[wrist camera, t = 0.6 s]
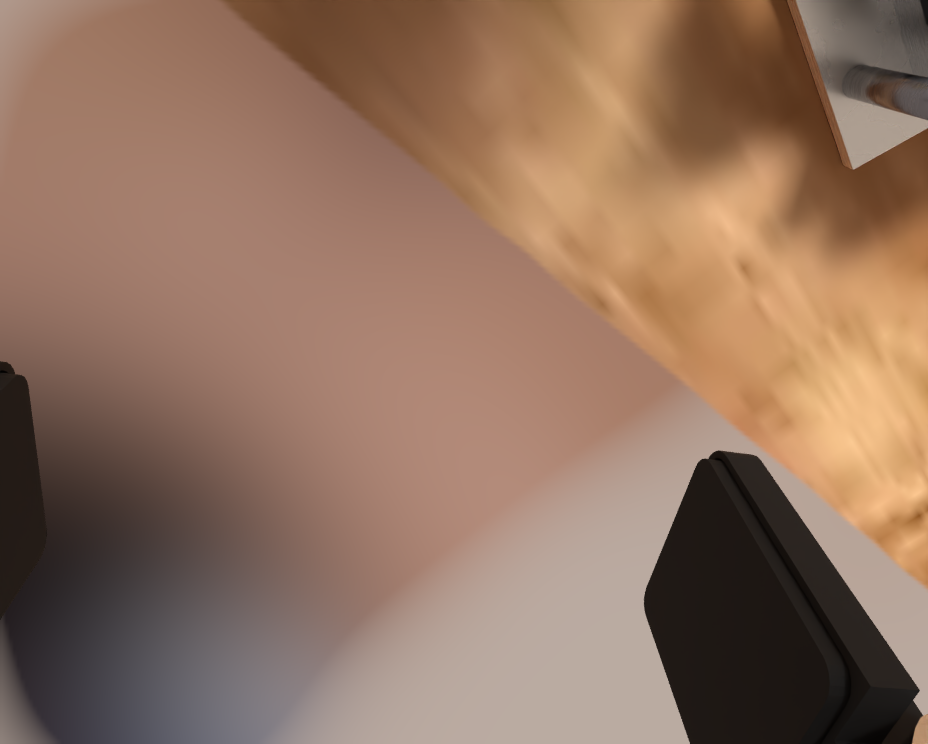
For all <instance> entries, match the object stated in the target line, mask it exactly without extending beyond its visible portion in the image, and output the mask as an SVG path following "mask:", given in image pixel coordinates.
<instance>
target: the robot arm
mask: <svg viewBox="0 0 928 744" xmlns="http://www.w3.org/2000/svg"><path fill="white" fill-rule="evenodd" d="M46 537H47V528H46V521H45V513H44V505H43V498H42V490H41V482H40V475H39V466H38V458H37V450H36V443H35V435H34V427H33V419H32V412H31V404H30V396H29V389H28V384H27V380H26V379H25V377H24V376H22V375H16V374H15V372H14V369H13V368H12V366H11V365H10V364H8V363H7V362H1V361H0V619H1V618H2V616H3V615H4V613H5V612H6V610H7V608H8V607H9V605H10V604H11V602H12V601H13V599H14V598H15V596H16V595H17V593H18V592H19V590H20V589H21V587H22V585H23V584H24V582H25V581H26V579H27V578H28V576H29V575H30V573H31V572H32V570H33V568H34V567H35V566H36V564H37V562H38V561H39V559H40V557H41V556H42V553H43V551H44V548H45V544H46ZM644 608H645V614H646V617H647V620H648V623H649V626H650V629H651V632H652V634H653V638H654V640H655V643H656V646H657V649H658V652H659V655H660V658H661V661H662V664H663V666H664V669H665V672H666V675H667V678H668V681H669V684H670V687H671V690H672V692H673V695H674V698H675V701H676V704H677V707H678V710H679V713H680V716H681V719H682V721H683V724H684V727H685V730H686V733H687V735H688V738H689V742H690V744H928V714H927V715H925V716H923V715H922V713H921V712H920V710H919V709H918V707H917V706H916V704H915V703H914V701H913V699H914V698H915V696H916V695H917V694H918V692H919V691H920V690H919V689H918V687H917V686H916V684H915V683H914V681H913V680H912V678H911V677H910V675H909V674H908V673H907V671H906V670H905V668H904V667H903V665H902V664H901V663H900V661H899V660H898V658H897V657H896V655H895V654H894V652H893V651H892V649H891V648H890V647H889V645H888V644H887V642H886V641H885V639H884V638H883V636H882V635H881V634H880V632H879V631H878V629H877V628H876V626H875V625H874V623H873V622H872V620H871V619H870V618H869V616H868V615H867V613H866V612H865V610H864V609H863V607H862V606H861V605H860V603H859V602H858V600H857V599H856V597H855V596H854V594H853V593H852V592H851V590H850V589H849V587H848V586H847V585H846V583H845V581H844V580H843V579H842V577H841V576H840V574H839V573H838V571H837V570H836V569H835V567H834V565H833V564H832V563H831V561H830V560H829V558H828V557H827V555H826V554H825V553H824V551H823V550H822V548H821V547H820V545H819V544H818V542H817V541H816V539H815V538H814V537H813V535H812V534H811V532H810V531H809V529H808V528H807V526H806V525H805V524H804V522H803V521H802V519H801V518H800V516H799V515H798V513H797V512H796V511H795V509H794V508H793V506H792V505H791V503H790V502H789V501H788V499H787V497H786V496H785V495H784V493H783V492H782V490H781V489H780V487H779V486H778V484H777V483H776V482H775V480H774V479H773V477H772V476H771V474H770V473H769V472H768V470H767V468H766V467H765V466H764V464H763V463H762V461H761V460H760V459H759V458H758V457H757V456H754V455H750V454H741V453H734V452H726V451H716V452H714V453H712V454H711V455H710V457H709V459H702V460H700V461H699V462H698V464H697V466H696V468H695V470H694V473H693V475H692V477H691V480H690V482H689V485H688V488H687V490H686V492H685V495H684V497H683V499H682V502H681V505H680V507H679V509H678V512H677V514H676V517H675V519H674V522H673V524H672V527H671V529H670V531H669V534H668V536H667V539H666V541H665V544H664V546H663V549H662V551H661V553H660V556H659V558H658V561H657V563H656V566H655V568H654V571H653V573H652V575H651V578H650V580H649V583H648V585H647V588H646V591H645V596H644Z"/></svg>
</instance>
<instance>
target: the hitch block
mask: <svg viewBox="0 0 928 744" xmlns="http://www.w3.org/2000/svg"><path fill="white" fill-rule="evenodd" d="M787 3H788V6H789V8H790V11H791V14H792V17H793V20H794V23H795V26H796V29H797V32H798V35H799V37H800V40H801V43H802V46H803V49H804V52H805V55H806V58H807V61H808V64H809V67H810V69H811V72H812V75H813V78H814V81H815V84H816V87H817V90H818V93H819V96H820V98H821V101H822V104H823V107H824V110H825V113H826V116H827V119H828V122H829V125H830V127H831V130H832V133H833V136H834V139H835V142H836V145H837V148H838V151H839V154H840V156H841V159H842V162H843V165H844V166H846V167H848V168H850V169H853V170H854V169H856V168H857V167H859V166H861V165H863V164H864V163H866V162H868V161H870V160H872V159H873V158H875V157H877V156H879V155H881V154H882V153H884V152H886V151H888V150H889V149H891V148H893V147H895V146H897V145H898V144H900V143H902V142H904V141H906V140H907V139H909V138H911V137H913V136H915V135H916V134H918V133H920V132H922V131H923V130H925V129H927V128H928V0H787Z"/></svg>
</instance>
